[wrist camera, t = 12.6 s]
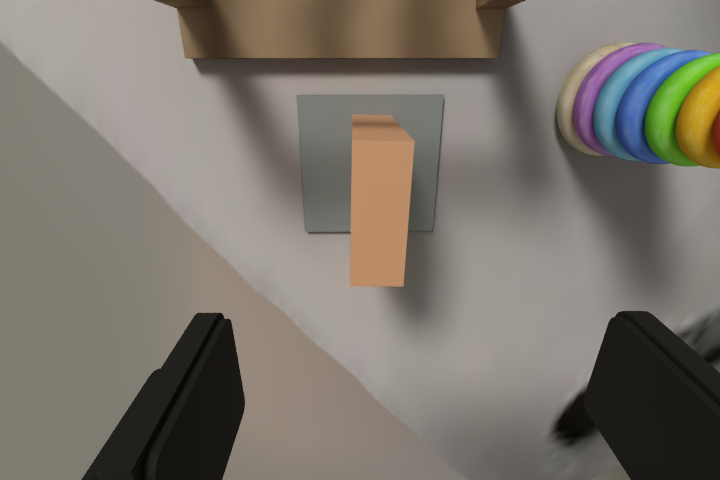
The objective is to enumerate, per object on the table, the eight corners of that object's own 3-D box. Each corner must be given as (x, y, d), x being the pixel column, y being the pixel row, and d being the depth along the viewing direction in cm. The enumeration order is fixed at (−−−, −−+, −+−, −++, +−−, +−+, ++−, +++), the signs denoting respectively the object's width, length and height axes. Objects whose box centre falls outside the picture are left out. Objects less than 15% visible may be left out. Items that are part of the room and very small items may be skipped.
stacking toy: (568, 170, 32) (820, 286, 15) (538, 78, 29) (806, 89, 12) (666, 122, 30) (1070, 189, 13) (644, 21, 28) (1123, -62, 10)
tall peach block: (391, 115, 29) (414, 141, 18) (386, 214, 33) (403, 286, 22) (352, 114, 29) (352, 140, 18) (350, 213, 33) (349, 286, 22)
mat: (442, 94, 29) (443, 95, 29) (432, 229, 34) (432, 230, 33) (297, 95, 29) (296, 95, 29) (305, 230, 34) (305, 231, 33)
